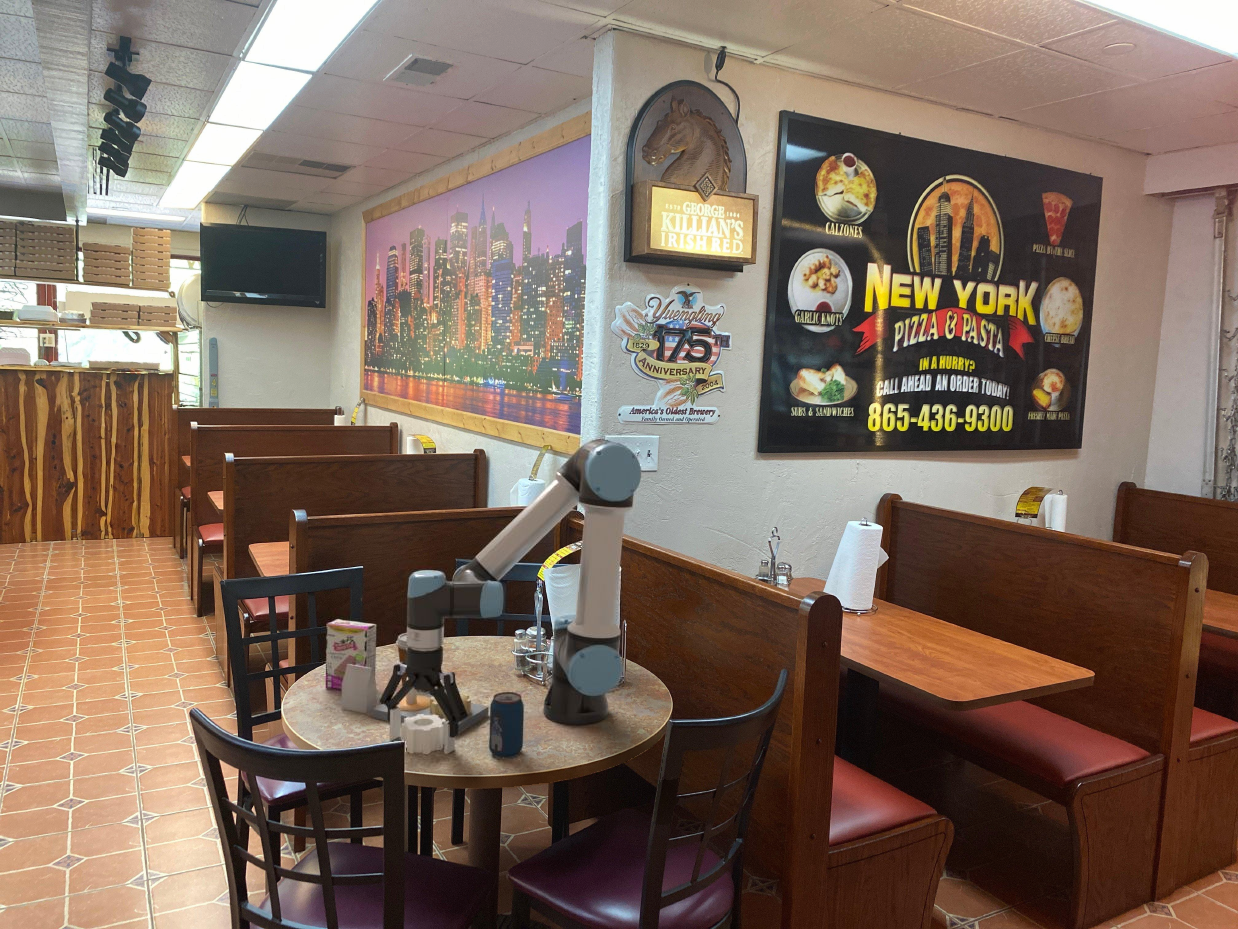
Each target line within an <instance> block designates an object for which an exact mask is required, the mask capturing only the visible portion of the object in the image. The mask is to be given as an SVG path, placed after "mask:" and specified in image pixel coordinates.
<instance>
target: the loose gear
mask: <svg viewBox="0 0 1238 929" xmlns="http://www.w3.org/2000/svg"><path fill="white" fill-rule="evenodd" d="M445 722H446V721H445V719H440V718H439V716H438V715H434V714H433V715H432V716H431V715H424V714H418V715H417V716H415V717H411V718H410V717H407V718H405V719H404V723H401V730H400V741H401V740H405V741H406V745H407V750H406V753H408V752H409V753H408V754H411V755H414V754H423V755H429V753H430V754H431V752H434V751H435V750H436V751H438V750H440V751H441V750H443V749H442V748H444V742H445ZM436 751H435V752H436Z"/></svg>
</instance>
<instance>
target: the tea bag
mask: <svg viewBox="0 0 1238 929" xmlns="http://www.w3.org/2000/svg"><path fill="white" fill-rule="evenodd" d="M376 706H377V681H376V676H375V677H374V674H373V668H369V667H363V666H357V665H351V664H347V667H346V671H345V675H344V678H343V682H342V691H341V709H342V710H347V711H351V710H352V711H353V712H357V713H362V714H368V713H369V712H372V711H371V710H372V708H374V707H376Z"/></svg>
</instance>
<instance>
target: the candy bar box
mask: <svg viewBox="0 0 1238 929" xmlns="http://www.w3.org/2000/svg"><path fill="white" fill-rule="evenodd" d="M325 631H326V636H325V639H326V642H325V653H326V654H325V689H327V690H328V689H329V690H335V691H340V692H342V682H343V678H344V675H345V671H346V667H347V664H351V665H357V666H363V667H369V668H373V674H374V677H375V678H376V660H377V659H376V655H377V653H376V652H377V624H375V623H369V622H362V621H361V622H360V621H353V620H346V619H345V620H344V619H339V618H338V619H334V620H332V621H331V622H327V623H326V630H325Z"/></svg>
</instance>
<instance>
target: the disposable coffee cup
mask: <svg viewBox="0 0 1238 929" xmlns="http://www.w3.org/2000/svg"><path fill="white" fill-rule="evenodd" d="M406 642H407V632H405V633H401V634H400V635H398V636H397V640H396V641H395V644H396V645H397V646H396V647H397V649H398V650H397V651H398V657H399V658H398V660H399V663H400V662H404V663H405V665H407V664H406V648H407V647H408V645H407V643H406ZM406 681H407V675H406V673H405V674H404V675H403V677H402V679H401V685H402V686H403V685H404V683H405V682H406Z"/></svg>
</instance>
